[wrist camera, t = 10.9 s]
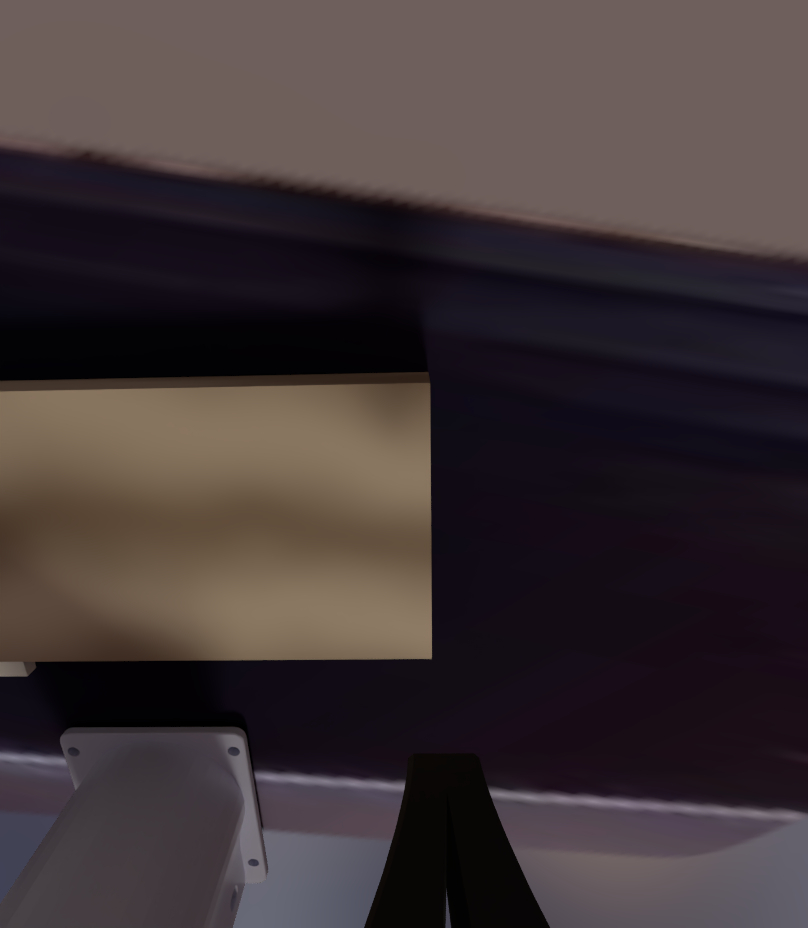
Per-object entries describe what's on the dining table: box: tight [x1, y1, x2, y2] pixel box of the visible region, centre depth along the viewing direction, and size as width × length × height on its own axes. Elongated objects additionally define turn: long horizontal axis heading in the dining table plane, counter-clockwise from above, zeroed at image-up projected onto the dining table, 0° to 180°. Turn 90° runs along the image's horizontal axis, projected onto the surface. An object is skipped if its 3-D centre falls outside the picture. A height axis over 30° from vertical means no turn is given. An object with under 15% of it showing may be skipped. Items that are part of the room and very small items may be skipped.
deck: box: [0, 372, 432, 662], centre depth 18 cm, size 10×16×2 cm, turn 91°
